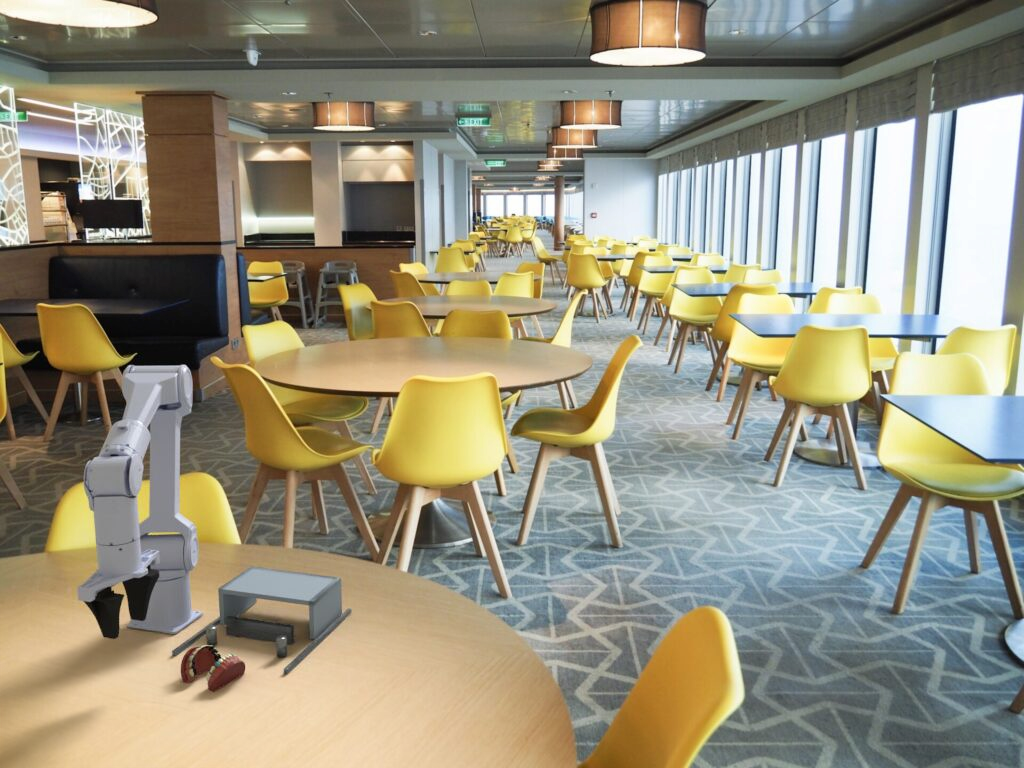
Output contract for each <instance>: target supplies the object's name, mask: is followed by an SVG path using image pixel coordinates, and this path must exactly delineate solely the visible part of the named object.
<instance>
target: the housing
mask: <svg viewBox="0 0 1024 768" xmlns="http://www.w3.org/2000/svg"><path fill="white" fill-rule="evenodd" d="M342 596H343V594H342V578H341V577H337V576H330V575H329V576H328V575H321V574H313V573H306V572H298V571H289V570H282V569H275V568H268V567H267V568H266V567H259V566H258V567H257V566H250V567H248V568H246V569H245V570H244V571H242V572H241V573H239V574H238V575H236V576H235V577H234V578H232V579H230V580H229V581H227V582H225V584H223V585H221V586H220V587H218V607H219V617H220V624H219V625H220V626H222V627H226V619H225V618H227V617H228V616H234V617H239V616H240V615H242V613H244V612H245V611H246V610H248V609H249V608H251V606H253V605H254V604H256V603H257V599H259V600H266V601H275V602H281V603H289V604H293V605H294V604H295V605H302V606H308V612H309V613H308V614H309V615H308V617H309V639H311V640H315V639H316V638H317V637H318V636H319V635H320V634H321V633H323V632H324V631H325V630H326V629H327V628H328V627H329V626H330V625H331V624H332V623H333V622H334V621H335V620H336V619H337V618H339V617H340V616H341V615H342V614H343V597H342Z"/></svg>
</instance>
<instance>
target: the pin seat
mask: <svg viewBox="0 0 1024 768" xmlns="http://www.w3.org/2000/svg"><path fill="white" fill-rule="evenodd" d="M350 613H351V614H352V608H348V607H347V609H346V610H344V612H342V614H341V615H340V616H339V617H338V618H337V619H336V620H335V621H334V622H332V623H331V624H330V625H329V626H328V627H327V628H326V629H325V630H324V631H323V632H322V633H321V634H320V635H319V636H318V637H316V638H315V639H313V640H312V641H311V643H310V644H309V645H307V646H306V647H305V648H304V649H303V650H302V651H301V652H300V653H299V654H298V655H297V656H296V657H295V658H294V659H293V660H291V662H289V663H288V664H287V665H286V666H285V667H284V668H283V674H284V675H289V674H290V673H291V672H292V671H293V669H295V668H296V667H297V666H298V665H299V664H300V663H301V662H302V661H303V660H304V659H305V658H306V657H307V656H308V655H310V653H312V651H314V650H315V648H317V647H318V646H319V645H320V644H321V643H322V642H323V641H324V640H326V638H327V637H328V636H329V635H330V634H332V632H334V630H335V629H336V628H337V627H339V626H340V625H341V624H342V623H343V622H344V621H345V620H346V619H347V618H348V617H349V616H350V615H351V614H350ZM349 614H350V615H349ZM348 615H349V616H348ZM347 616H348V617H347ZM346 617H347V618H346ZM345 618H346V619H345ZM225 619H226V625H225V631H226V632H225V635H226V636H230V637H236V638H243V639H249V640H255V641H262V642H267V643H268V642H269V643H274V644H275V645H276V658H278V659H283V658H287V656H288V645H289V646H292V645H293V644H295V625H294V624H290V623H289V624H288V623H282V622H281V623H280V622H276V621H268V620H259V619H253V618H247V617H242V616H237V617H234V616H228V617H227V618H225ZM344 619H345V620H344ZM343 620H344V621H343ZM342 621H343V622H342ZM341 622H342V623H341ZM340 623H341V624H340ZM339 624H340V625H339ZM219 625H220V616H218V617H217V618H215V619H214V620H213V621H211V622H210V623H208V624H207V625H206V626H204V627H203V628H202V629H200V630H199V631H198V632H196V633H195V634H193V635H192V636H191V637H189V638H188V639H187V640H185V641H184V642H183V643H181V644H180V645H178V646H177V647H175V648H174V649H172V651H171V655H172V656H173V657H177V656H178V655H179V654H181V653H182V652H184V651H185V650H186V649H188V648H189V647H190V646H192V645H194V644H195V642H197V641H198V640H200V639H201V638H202V637H203V636H205V635H206V645H209V646H210V645H213V646H214V647H216V646H218V631H217V627H218V626H219Z"/></svg>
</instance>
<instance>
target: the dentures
mask: <svg viewBox="0 0 1024 768" xmlns="http://www.w3.org/2000/svg"><path fill="white" fill-rule="evenodd" d="M245 670H246V663H245V662H244V661H243V660H241V659H240V658H239V657H238V656H237V655H235V654H233V653H228V654H226V655H224V656H221V654H220V653H219V650H218V649H217V648H215V646H213V645H210V646H209V645H207V644H206V645H201V646H194V647H191V648H189V649H188V650H187V651H186V653H185V654H184V655H183V657H182V660H181V663H180V676H181V680H182V683H189V682H191V681H194V680H195V679H197V677H198V676H199V675H202V674H203V673H204V672H207V671H208V672H207V674H206V675H205V679H206V681H207V689H208V690H209V691H210V692H212V693H215V692H217V691H219V690H220V689H222V688H223V687H225V686H227V685H228V684H230V683H231V682H233V681H235V680H236V679H238V678H240V677H241V676H243V675H244V674H245Z"/></svg>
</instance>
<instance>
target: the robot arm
mask: <svg viewBox="0 0 1024 768" xmlns="http://www.w3.org/2000/svg"><path fill="white" fill-rule="evenodd" d="M121 376H122V377H121V392H122V396H123V398H124V399H125V402H126V405H125V408H124V412H123V416H122V419H121V420H118V421H116V422H114V423H113V425H111V427H110V428H109V432H108V433H107V435H106V437H105V438H106V439H105V440H104V443H103V444H102V447H101V449H100V452H99V454H98V456H95V457H93V459H92V460H88V461H87V462H86V465H85V468H84V471H83V489H84V493H85V495H86V497H87V500H88V501H87V502H88V508H89V510H90V511H92V512H93V521H94V522H93V523H94V533H95V535H94V536H95V544H96V545H95V547H96V557H97V560H96V561H97V570H95V572H93V574H92V575H91V576H89V578H87V580H86V581H85V582H83V583H82V584H81V585H78V586H77V587H76V588H77V600H78V601H82V602H83V603H84V604H86V606H87V608H88V609H89V611H91V613H92V614H93V616H94V618H95V620H96V622H97V624H98V627H99V629H100V632H101V635H102V637H103V638H105V639H111V640H116V639H117V638H119V635H120V613H121V607H122V603H123V600H124V597H125V595H126V599H127V604H128V605H127V606H128V613H129V618H130V622H127V628H133V629H138V630H139V629H140V630H144V631H150V632H151V631H153V632H156V633H158V632H159V633H165V634H170V635H171V634H172V635H175V634H177V633H179V632H180V631H182V630H183V629H184V628H186V627H188V626H189V625H190V624H191V623H193V622H195V621H196V620H197V619H199V618H200V617H201V616H203V615H204V612H203V611H201V610H193V609H192V597H191V596H192V595H191V581H190V580H191V578H190V571H193V570H194V569H195V567H196V566H197V564H198V561H199V539H198V532H197V530H198V528H197V526H196V525H195V524H194V523H193V522H192V521H191V520H190V519H188V518H187V517H185V516H184V515H183V514H181V513H180V494H181V493H180V491H181V488H180V487H181V486H180V485H181V482H180V480H181V479H180V478H181V474H180V473H181V426H182V421H183V418H184V417H185V416H187V415H189V414H191V413H192V407H193V390H194V389H193V382H194V381H193V376H192V372H191V370H190V368H189V367H188V366H187V365H186V364H180V365H134V364H129V365H127V367H125V369H124V370H123V373H122V375H121ZM149 425H150V428H149V429H150V430H149V429H148V427H149ZM148 447H149V496H148V497H149V501H148V502H149V509H148V510H149V511H148V517H147V518H145V519H144V520H142V521H141V522H140V521H139V520H140V518H139V517H140V515H139V506H138V505H139V504H138V503H139V502H138V495H139V494H140V491H141V490H142V489H141V488H142V485H143V474H144V473H143V472H144V462H143V461H144V458H145V455H146V453H147V450H148ZM151 533H152V534H151ZM153 533H154V534H153ZM157 533H161V534H157ZM162 533H163V534H162ZM164 533H165V534H164ZM167 533H168V534H167ZM171 533H172V534H171ZM174 533H175V534H174ZM120 583H122V585H123V587H124V591H125V594H124V593H118V592H117V593H116V592H115V591H114V589H112V588H113V587H115V586H116V585H119V584H120Z"/></svg>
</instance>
